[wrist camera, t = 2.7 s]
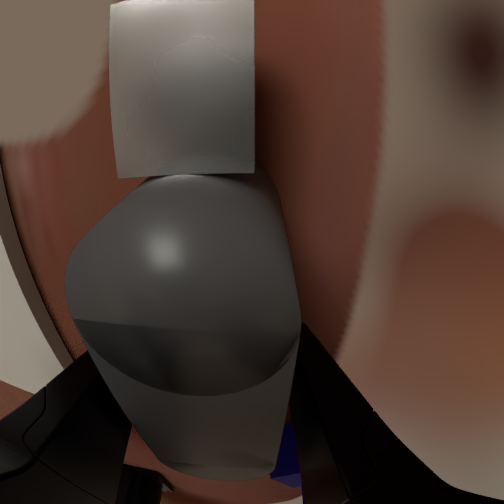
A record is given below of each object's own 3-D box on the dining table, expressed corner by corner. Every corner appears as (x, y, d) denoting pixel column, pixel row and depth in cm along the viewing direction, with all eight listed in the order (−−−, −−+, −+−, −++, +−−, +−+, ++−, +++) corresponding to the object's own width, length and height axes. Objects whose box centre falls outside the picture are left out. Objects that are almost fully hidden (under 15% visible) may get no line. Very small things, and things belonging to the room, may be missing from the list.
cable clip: (269, 426, 13) (271, 533, 8) (354, 399, 12) (377, 515, 7) (337, 472, 18) (344, 533, 13) (390, 455, 17) (403, 518, 12)
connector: (285, 23, 5) (318, -57, 2) (269, 393, 11) (271, 481, 8) (133, 35, 5) (21, 3, 2) (186, 390, 11) (171, 474, 8)
